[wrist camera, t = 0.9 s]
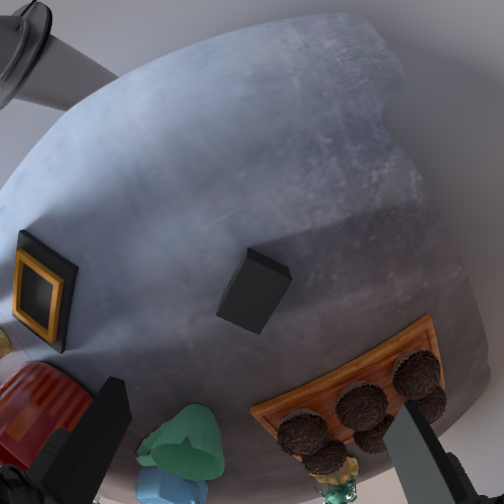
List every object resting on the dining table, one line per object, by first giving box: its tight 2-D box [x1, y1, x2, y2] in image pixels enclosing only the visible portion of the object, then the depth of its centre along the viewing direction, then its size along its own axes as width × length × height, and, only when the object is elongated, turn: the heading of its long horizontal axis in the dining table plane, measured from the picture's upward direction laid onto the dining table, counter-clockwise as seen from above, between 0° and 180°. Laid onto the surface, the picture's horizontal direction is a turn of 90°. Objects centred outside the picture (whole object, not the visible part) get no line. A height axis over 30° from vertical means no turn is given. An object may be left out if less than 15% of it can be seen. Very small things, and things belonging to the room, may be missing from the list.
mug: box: [134, 404, 225, 481], centre depth 32 cm, size 15×10×10 cm
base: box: [12, 230, 78, 354], centre depth 32 cm, size 16×12×2 cm
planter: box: [0, 361, 94, 473], centre depth 29 cm, size 23×23×20 cm
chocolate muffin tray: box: [250, 314, 446, 475], centre depth 32 cm, size 28×17×8 cm, turn 121°
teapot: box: [136, 465, 208, 504], centre depth 36 cm, size 12×18×12 cm
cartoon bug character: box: [308, 456, 359, 504], centre depth 34 cm, size 10×18×15 cm, turn 26°
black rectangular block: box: [216, 248, 292, 335], centre depth 29 cm, size 7×5×4 cm
